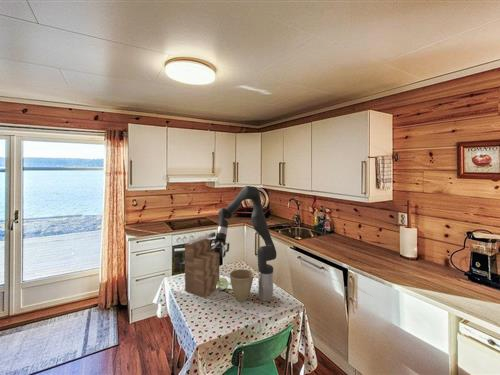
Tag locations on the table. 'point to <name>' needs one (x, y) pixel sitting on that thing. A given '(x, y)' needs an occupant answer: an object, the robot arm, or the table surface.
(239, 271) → the plant pot
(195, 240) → the aluminium bar
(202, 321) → the table surface
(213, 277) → the walnut stand
